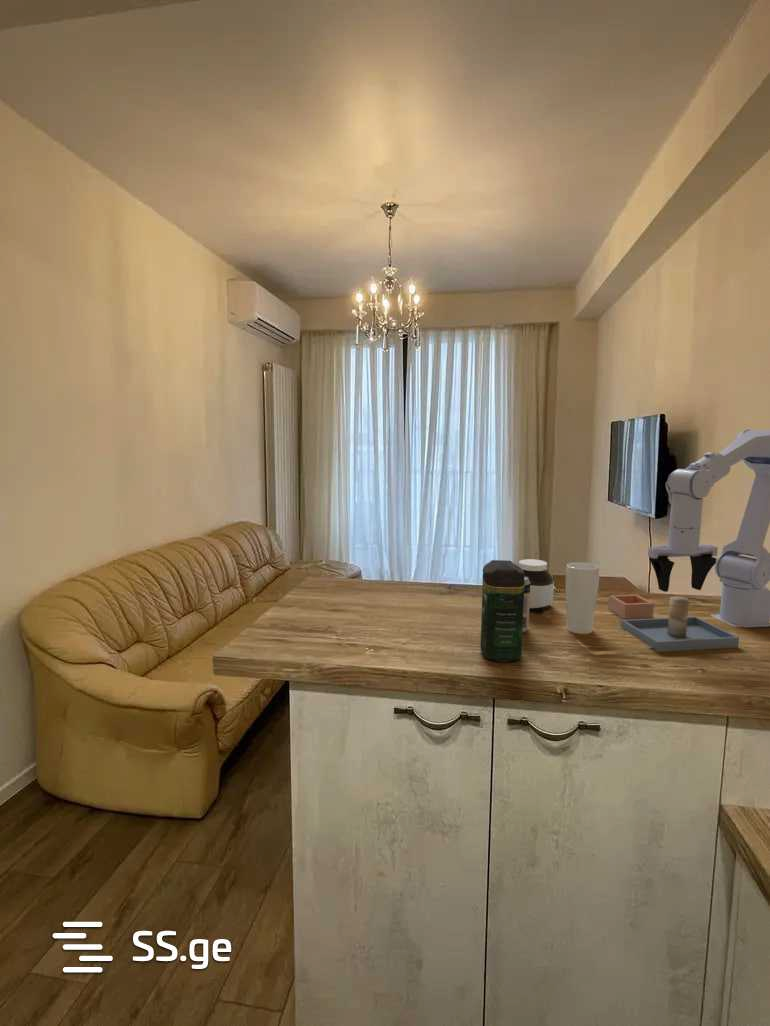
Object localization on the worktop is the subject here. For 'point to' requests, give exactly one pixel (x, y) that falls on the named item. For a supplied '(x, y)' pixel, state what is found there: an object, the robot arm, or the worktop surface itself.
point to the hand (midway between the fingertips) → (679, 589)
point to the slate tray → (696, 638)
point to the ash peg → (678, 617)
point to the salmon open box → (630, 606)
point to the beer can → (526, 605)
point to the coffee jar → (502, 611)
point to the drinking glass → (581, 596)
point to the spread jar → (538, 584)
